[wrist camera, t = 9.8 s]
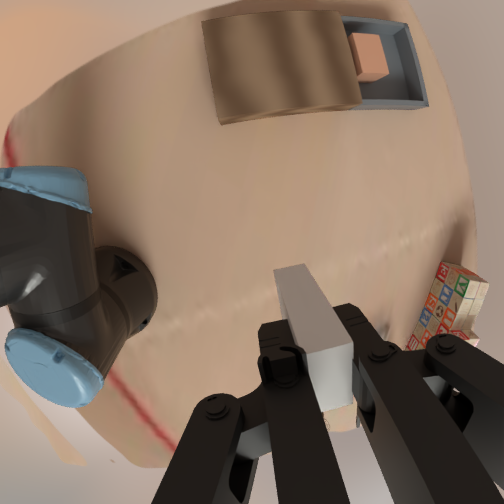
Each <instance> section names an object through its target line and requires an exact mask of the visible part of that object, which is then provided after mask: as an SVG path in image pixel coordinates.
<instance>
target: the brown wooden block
mask: <svg viewBox="0 0 504 504" xmlns="http://www.w3.org/2000/svg"><path fill="white" fill-rule="evenodd" d="M201 23H202V29H203V35H204V41H205V47H206V53H207V59H208V65H209V71H210V76H211V82H212V88H213V94H214V99H215V105H216V111H217V117H218V120H219V122H220V124H221V125H225V124H231V123H236V122H242V121H248V120H255V119H261V118H269V117H276V116H284V115H293V114H303V113H314V112H327V111H343V110H349V109H351V108H353V107H356V106H358V105H360V104H363V102H362V97H361V92H360V87H359V83H358V78H357V74H356V70H355V66H354V62H353V58H352V54H351V50H350V46H349V43H348V39H347V35H346V32H345V29H344V25H343V22H342V19H341V16H340V13H339V11H317V10H303V11H277V12H263V13H253V14H244V15H236V16H229V17H223V18H217V19H211V20H206V21H201Z"/></svg>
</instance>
